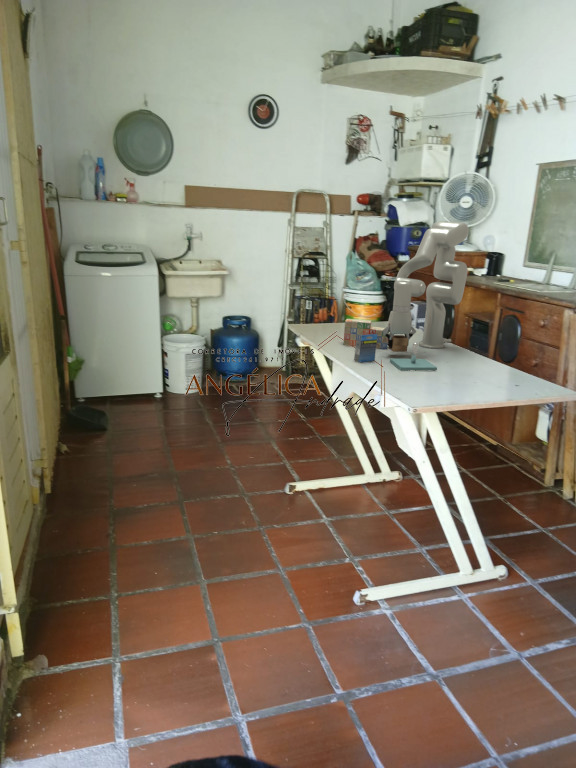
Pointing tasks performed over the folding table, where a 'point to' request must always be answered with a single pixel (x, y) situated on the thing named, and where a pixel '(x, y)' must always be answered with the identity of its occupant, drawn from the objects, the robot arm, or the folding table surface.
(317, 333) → the folding table surface
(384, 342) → the stack of blocks
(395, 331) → the robot arm
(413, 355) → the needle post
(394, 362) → the teal flat board
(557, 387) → the folding table surface
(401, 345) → the hollow wooden block
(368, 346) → the label tape box
